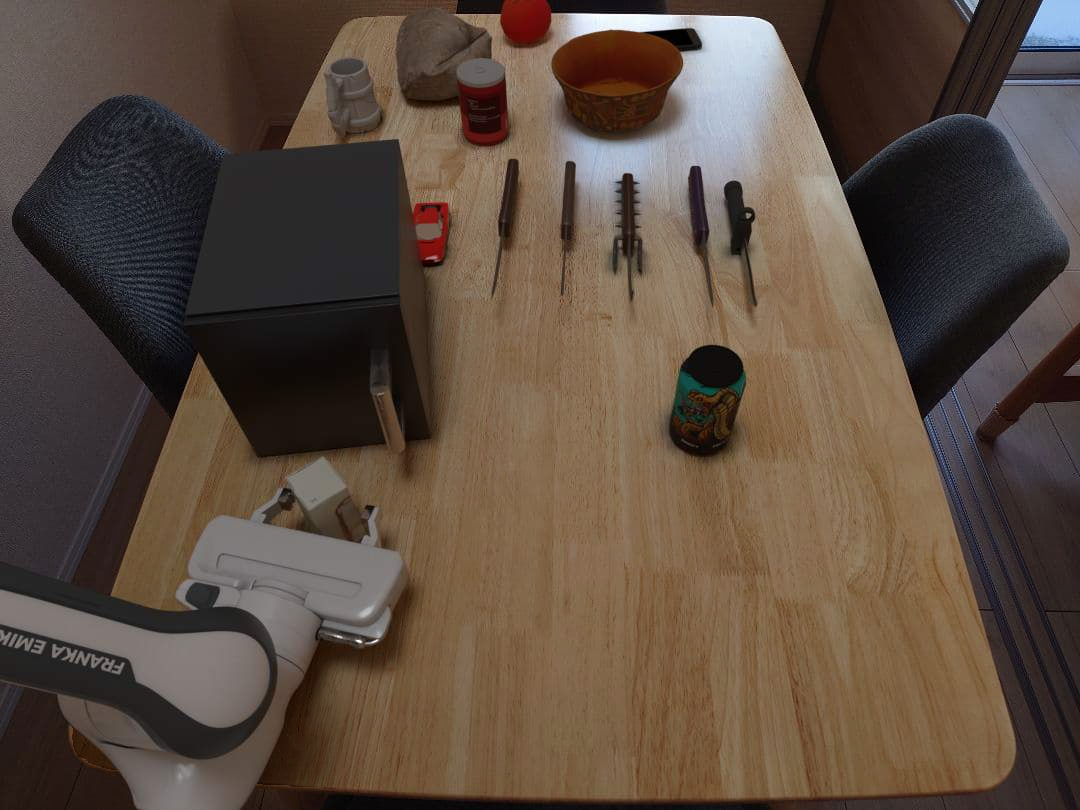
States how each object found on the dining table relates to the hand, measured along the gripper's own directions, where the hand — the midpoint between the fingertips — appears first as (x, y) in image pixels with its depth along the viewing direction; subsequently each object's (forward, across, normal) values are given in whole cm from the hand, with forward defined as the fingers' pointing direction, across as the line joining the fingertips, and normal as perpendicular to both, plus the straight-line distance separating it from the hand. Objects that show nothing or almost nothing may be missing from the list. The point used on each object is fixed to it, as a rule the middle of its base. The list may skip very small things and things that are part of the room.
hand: (331, 499), depth 77 cm
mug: (+72, +28, +6) cm, 77 cm away
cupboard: (+23, +9, +6) cm, 25 cm away
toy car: (+47, +6, +6) cm, 48 cm away
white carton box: (-1, 0, +6) cm, 6 cm away
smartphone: (+110, -19, +6) cm, 112 cm away
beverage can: (+21, -36, +6) cm, 42 cm away
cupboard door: (+7, +3, +6) cm, 10 cm away
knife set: (+50, -22, +6) cm, 55 cm away
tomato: (+107, +7, +6) cm, 108 cm away
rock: (+88, +17, +6) cm, 90 cm away
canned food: (+75, +6, +6) cm, 75 cm away
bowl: (+84, -14, +6) cm, 86 cm away
